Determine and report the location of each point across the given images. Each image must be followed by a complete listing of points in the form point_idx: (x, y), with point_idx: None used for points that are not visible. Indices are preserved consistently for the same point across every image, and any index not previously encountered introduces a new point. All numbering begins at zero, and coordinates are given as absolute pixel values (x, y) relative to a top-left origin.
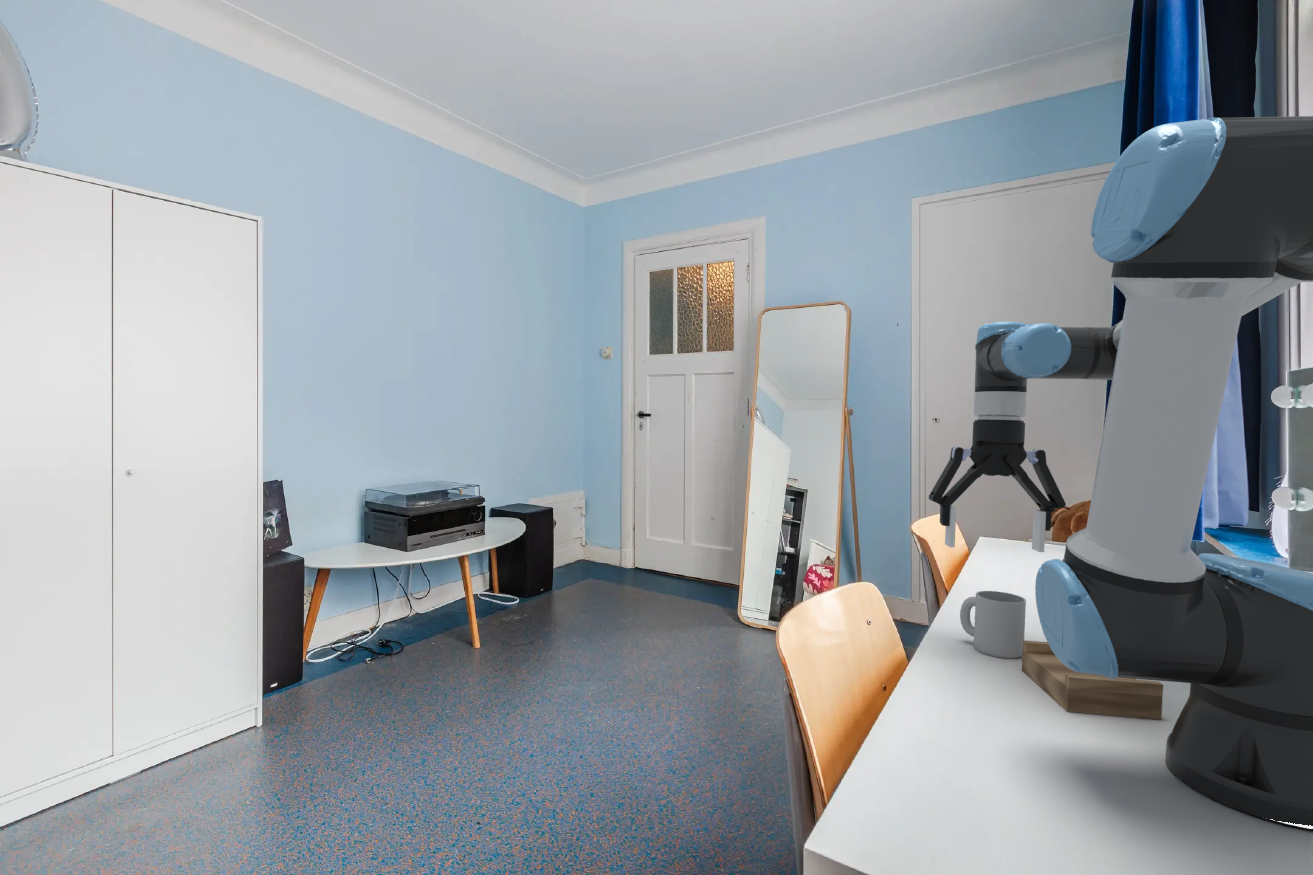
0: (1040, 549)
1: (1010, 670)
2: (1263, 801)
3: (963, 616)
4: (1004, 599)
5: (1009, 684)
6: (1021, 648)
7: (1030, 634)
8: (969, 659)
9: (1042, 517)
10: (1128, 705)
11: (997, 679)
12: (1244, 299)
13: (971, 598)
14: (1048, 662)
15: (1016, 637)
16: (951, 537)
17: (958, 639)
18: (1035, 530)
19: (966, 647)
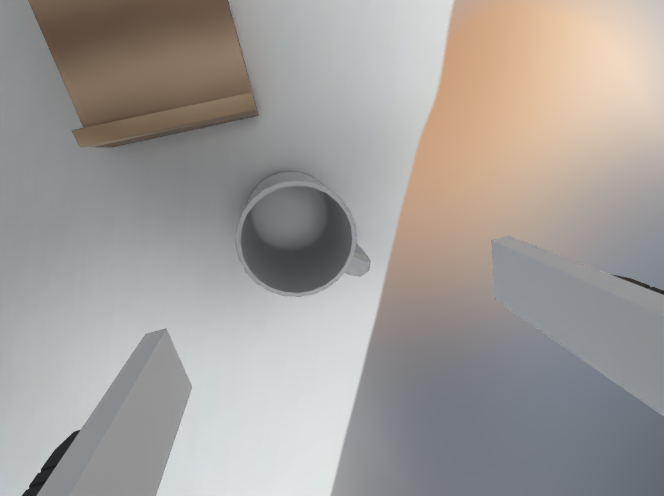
0: (157, 336)
1: (279, 103)
2: None
3: (360, 249)
4: (282, 283)
5: (289, 13)
6: (252, 192)
7: (223, 343)
8: (346, 135)
9: (70, 472)
10: None
11: (308, 35)
12: None
13: (357, 260)
14: (211, 41)
15: (262, 183)
16: (533, 248)
17: None
18: (154, 435)
19: None
